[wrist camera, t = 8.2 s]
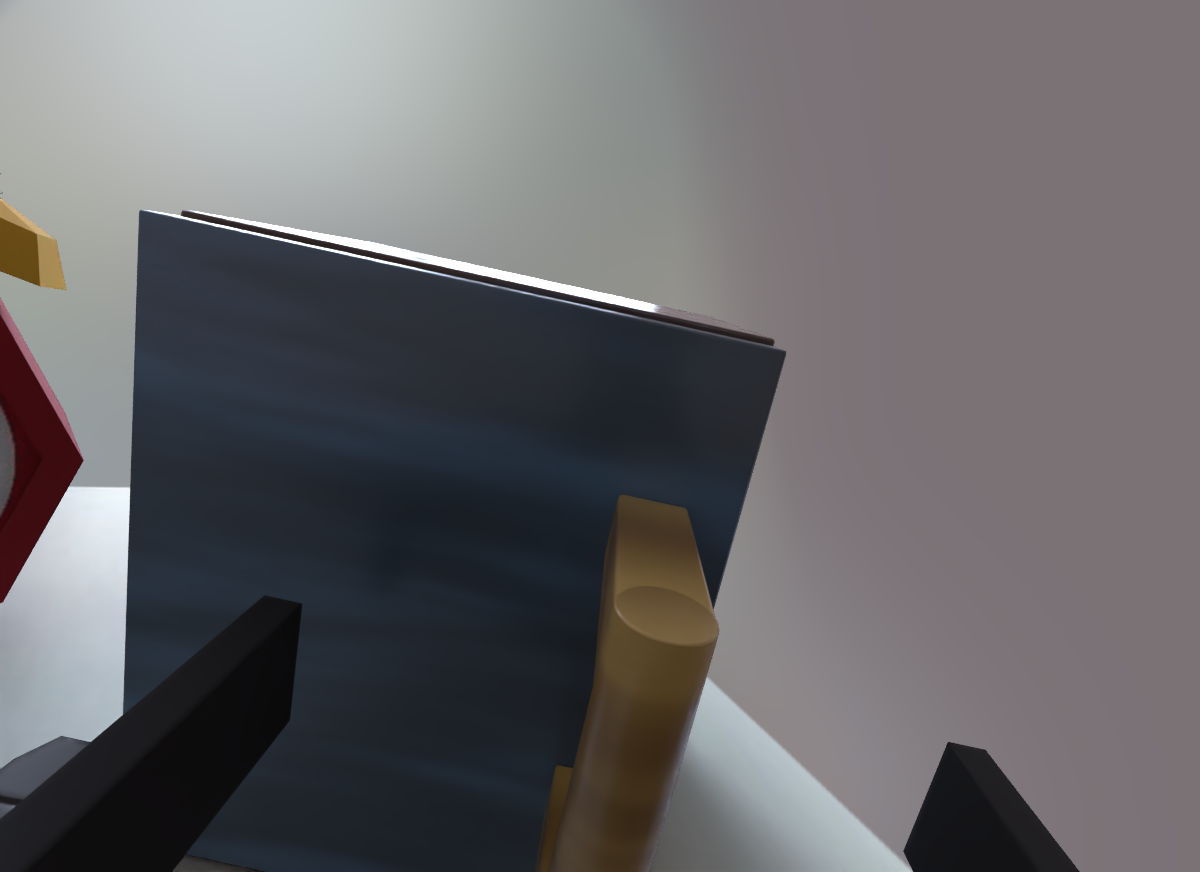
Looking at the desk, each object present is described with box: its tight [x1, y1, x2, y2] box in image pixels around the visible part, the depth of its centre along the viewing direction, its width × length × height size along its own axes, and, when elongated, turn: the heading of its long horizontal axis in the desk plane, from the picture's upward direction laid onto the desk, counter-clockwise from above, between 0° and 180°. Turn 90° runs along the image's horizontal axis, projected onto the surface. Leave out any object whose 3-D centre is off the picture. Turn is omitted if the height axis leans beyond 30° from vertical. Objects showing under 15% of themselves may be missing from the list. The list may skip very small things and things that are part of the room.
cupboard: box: [181, 210, 774, 346], centre depth 22 cm, size 11×14×17 cm
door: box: [123, 210, 786, 872], centre depth 13 cm, size 7×14×17 cm, turn 88°
